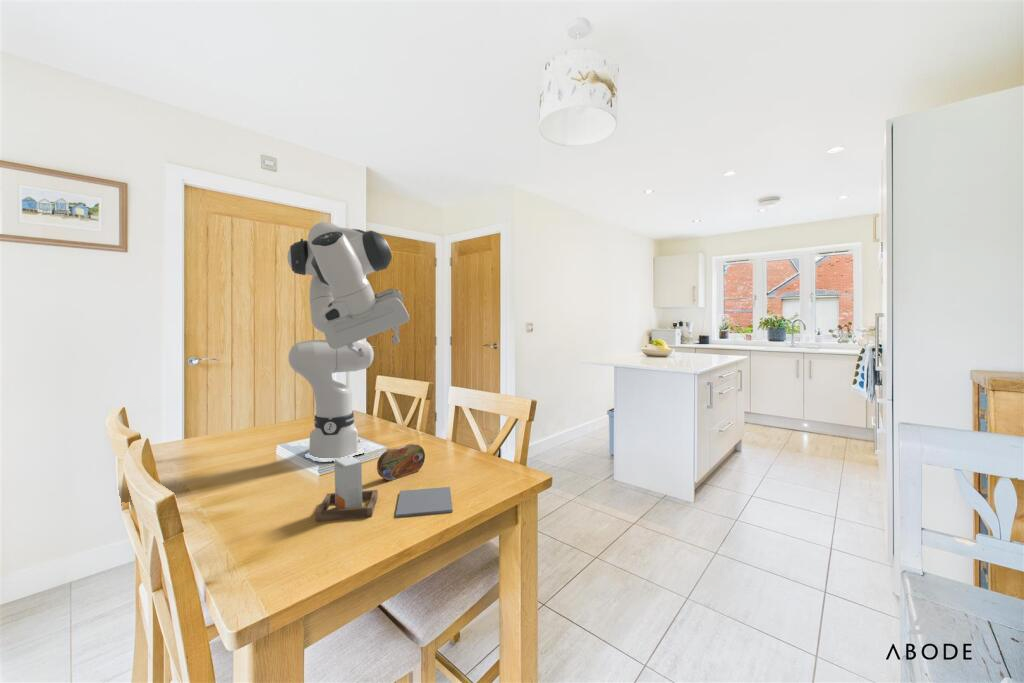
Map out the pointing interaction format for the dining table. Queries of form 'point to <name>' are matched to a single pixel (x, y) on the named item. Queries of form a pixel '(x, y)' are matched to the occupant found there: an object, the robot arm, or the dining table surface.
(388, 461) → the tin
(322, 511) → the walnut collar
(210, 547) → the dining table surface
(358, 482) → the skincare box
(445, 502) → the slate mat
